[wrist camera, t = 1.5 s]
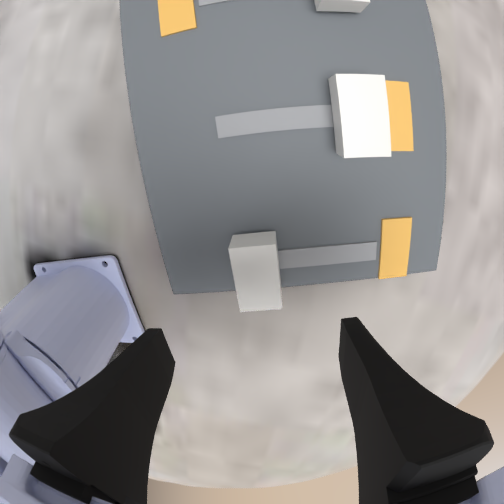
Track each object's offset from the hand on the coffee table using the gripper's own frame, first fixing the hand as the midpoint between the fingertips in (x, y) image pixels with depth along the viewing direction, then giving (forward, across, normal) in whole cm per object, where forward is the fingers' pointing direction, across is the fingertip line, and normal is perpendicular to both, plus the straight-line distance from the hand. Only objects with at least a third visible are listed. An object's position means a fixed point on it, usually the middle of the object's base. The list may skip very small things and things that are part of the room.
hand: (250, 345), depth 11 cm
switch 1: (+7, 0, 0) cm, 7 cm away
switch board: (+8, -3, -8) cm, 12 cm away
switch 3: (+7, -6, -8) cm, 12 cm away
